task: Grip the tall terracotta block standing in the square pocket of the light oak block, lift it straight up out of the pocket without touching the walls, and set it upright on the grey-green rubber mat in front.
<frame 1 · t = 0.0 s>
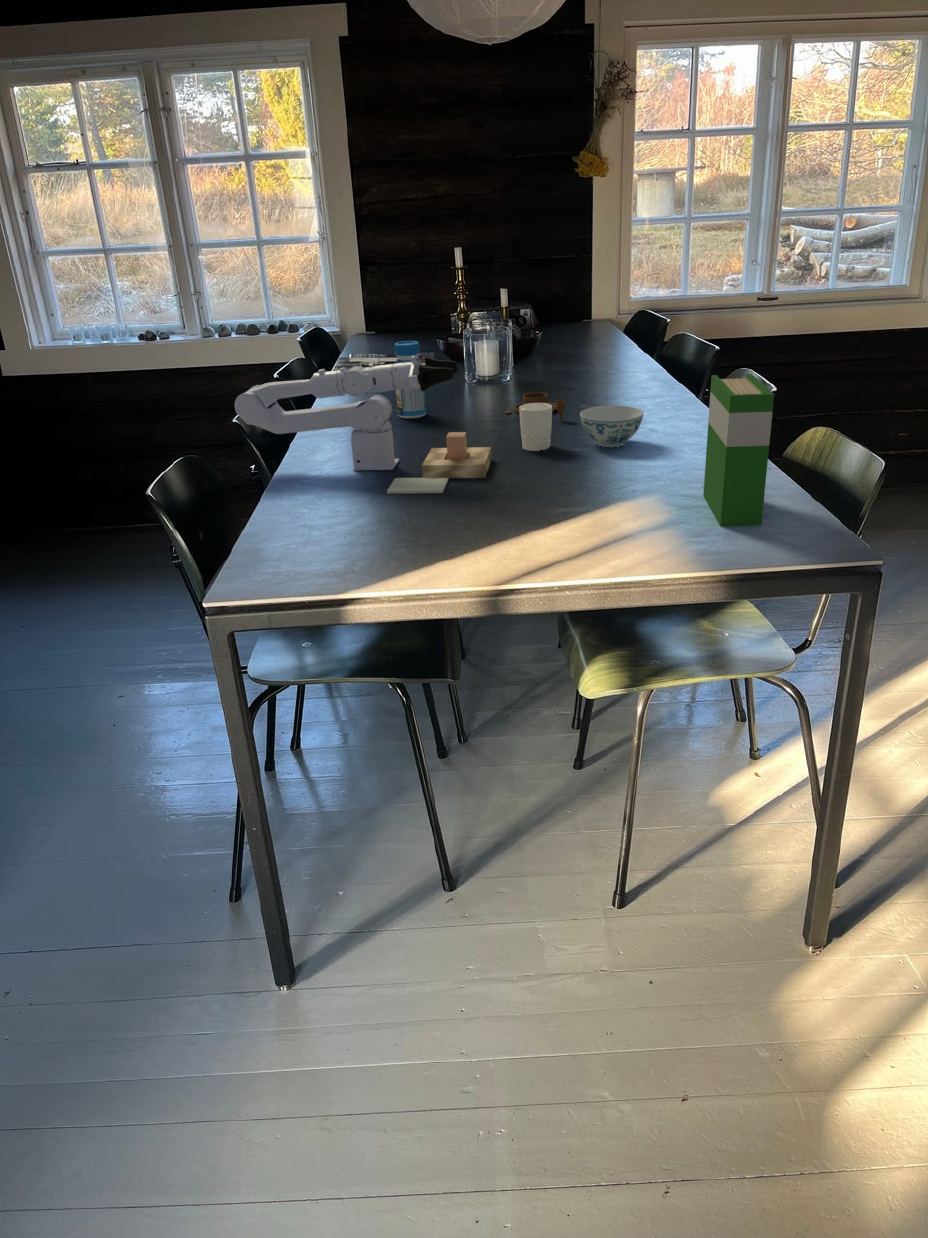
hand: (454, 369, 203), 22 cm above the table, tool horizontal, fingers open, 7 cm apart
terracotta block: (457, 451, 208), in the pocket block
white cup: (536, 448, 222), on the table
place setting: (536, 416, 253), on the table
mat: (418, 486, 199), on the table
pocket block: (458, 468, 209), on the table
hardback book: (730, 510, 176), on the table
beverage bottle: (412, 416, 258), on the table
chinaware: (611, 445, 222), on the table
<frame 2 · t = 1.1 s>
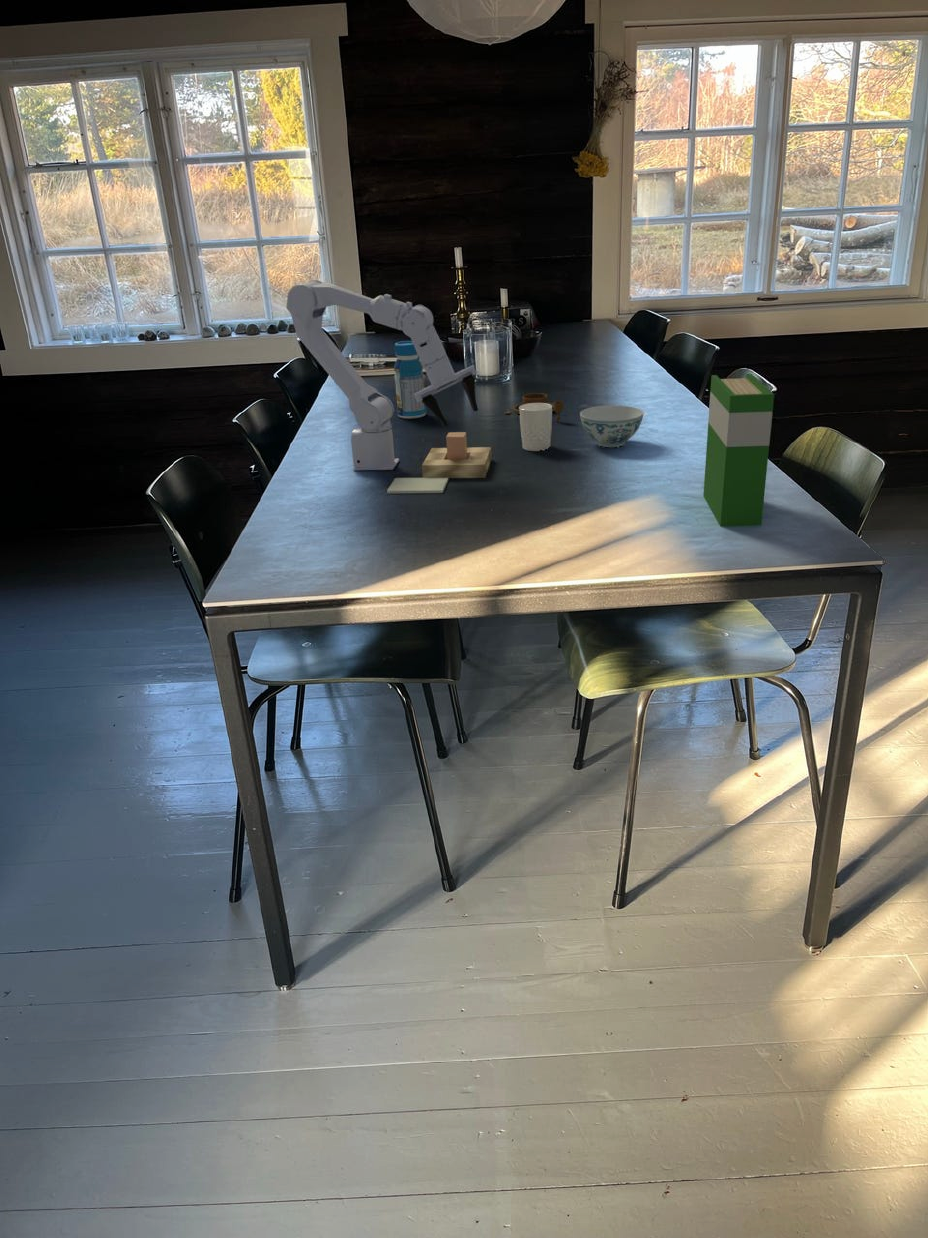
hand: (460, 418, 205), 12 cm above the table, tool tilted 20°, fingers open, 7 cm apart
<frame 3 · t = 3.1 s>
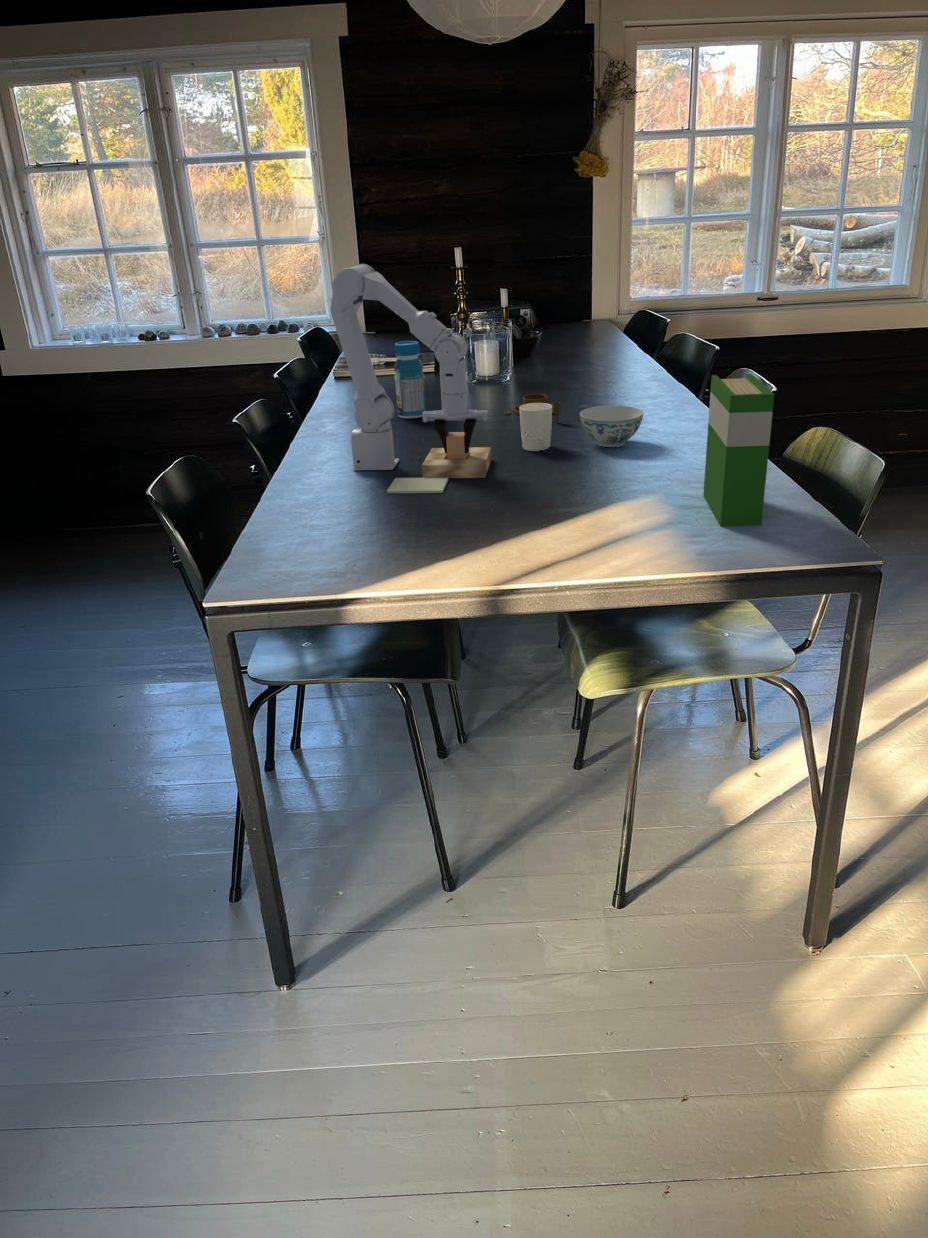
hand: (457, 452, 208), 4 cm above the table, tool pointing down, fingers closed on terracotta block, 4 cm apart
terracotta block: (457, 451, 208), in the pocket block, touching gripper
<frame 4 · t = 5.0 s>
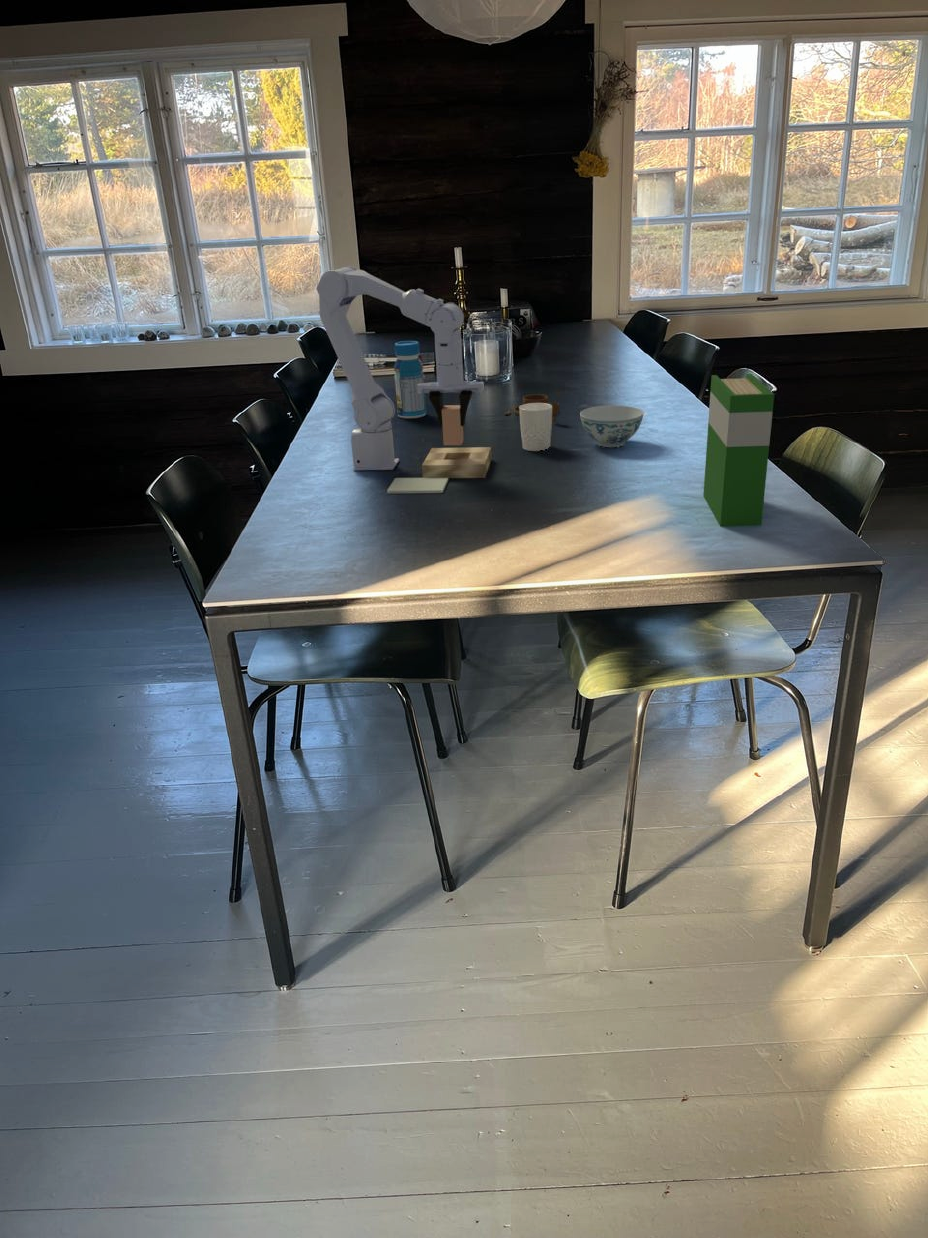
hand: (452, 424, 204), 10 cm above the table, tool pointing down, fingers closed on terracotta block, 4 cm apart
terracotta block: (452, 425, 204), point 10 cm above the table, touching gripper
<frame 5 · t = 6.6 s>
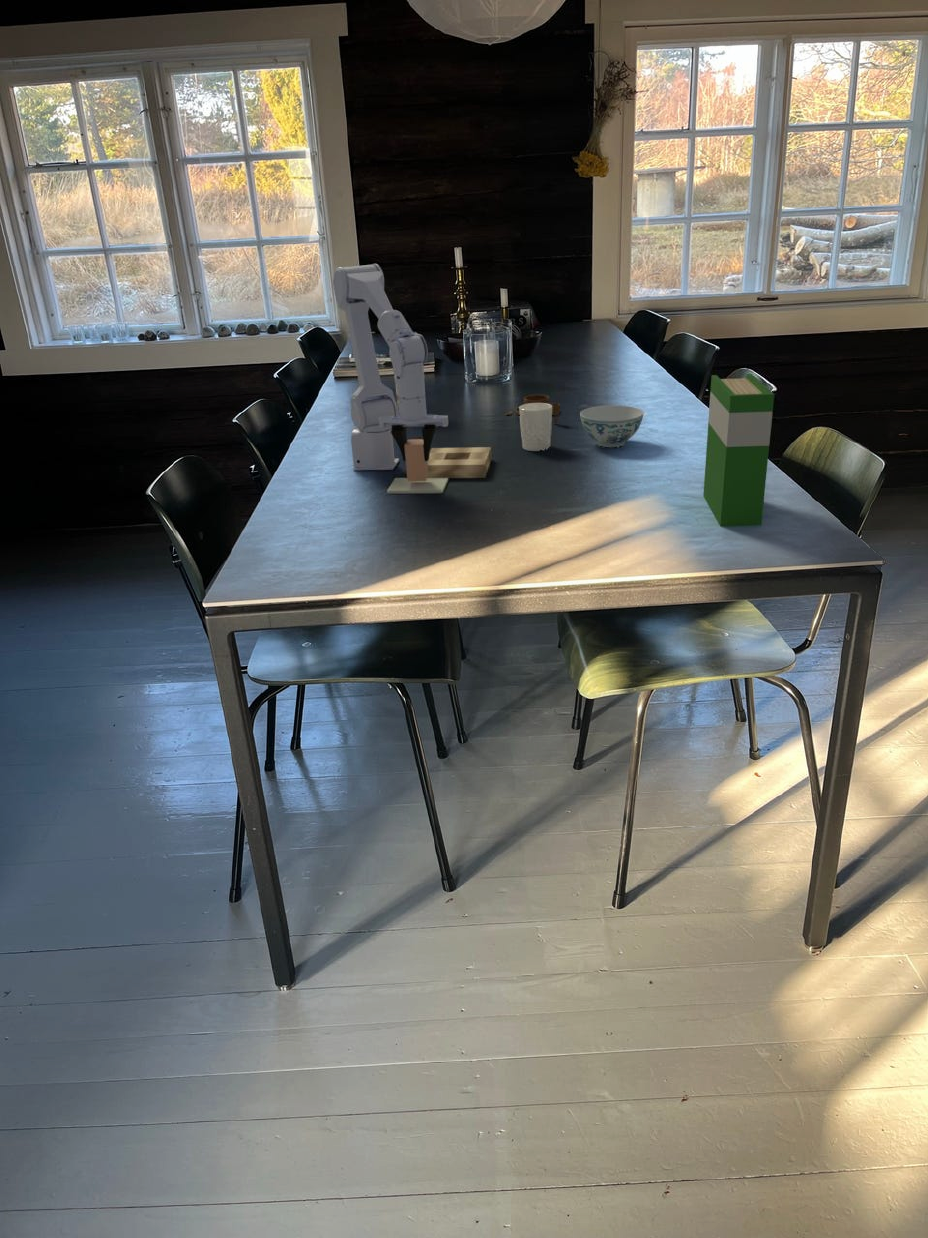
hand: (416, 459, 196), 6 cm above the table, tool pointing down, fingers closed on terracotta block, 4 cm apart
terracotta block: (416, 460, 197), point 6 cm above the table, touching gripper
when the fingers open (5 cm above the table, at t = 7.5 s): terracotta block stays where it is, resting on mat.
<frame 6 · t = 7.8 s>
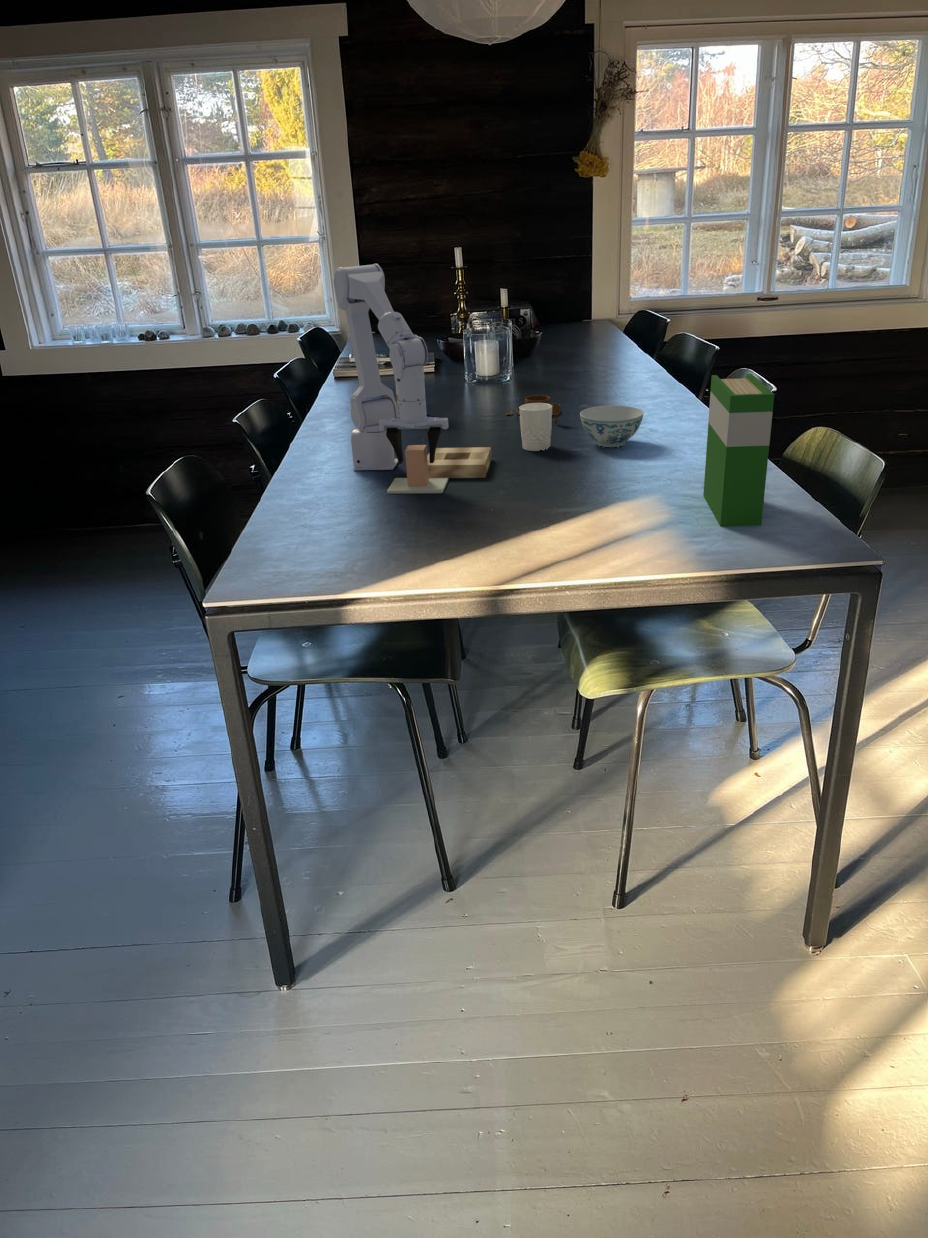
hand: (416, 462, 196), 6 cm above the table, tool pointing down, fingers open, 6 cm apart
terracotta block: (417, 465, 197), on the mat, point 5 cm above the table
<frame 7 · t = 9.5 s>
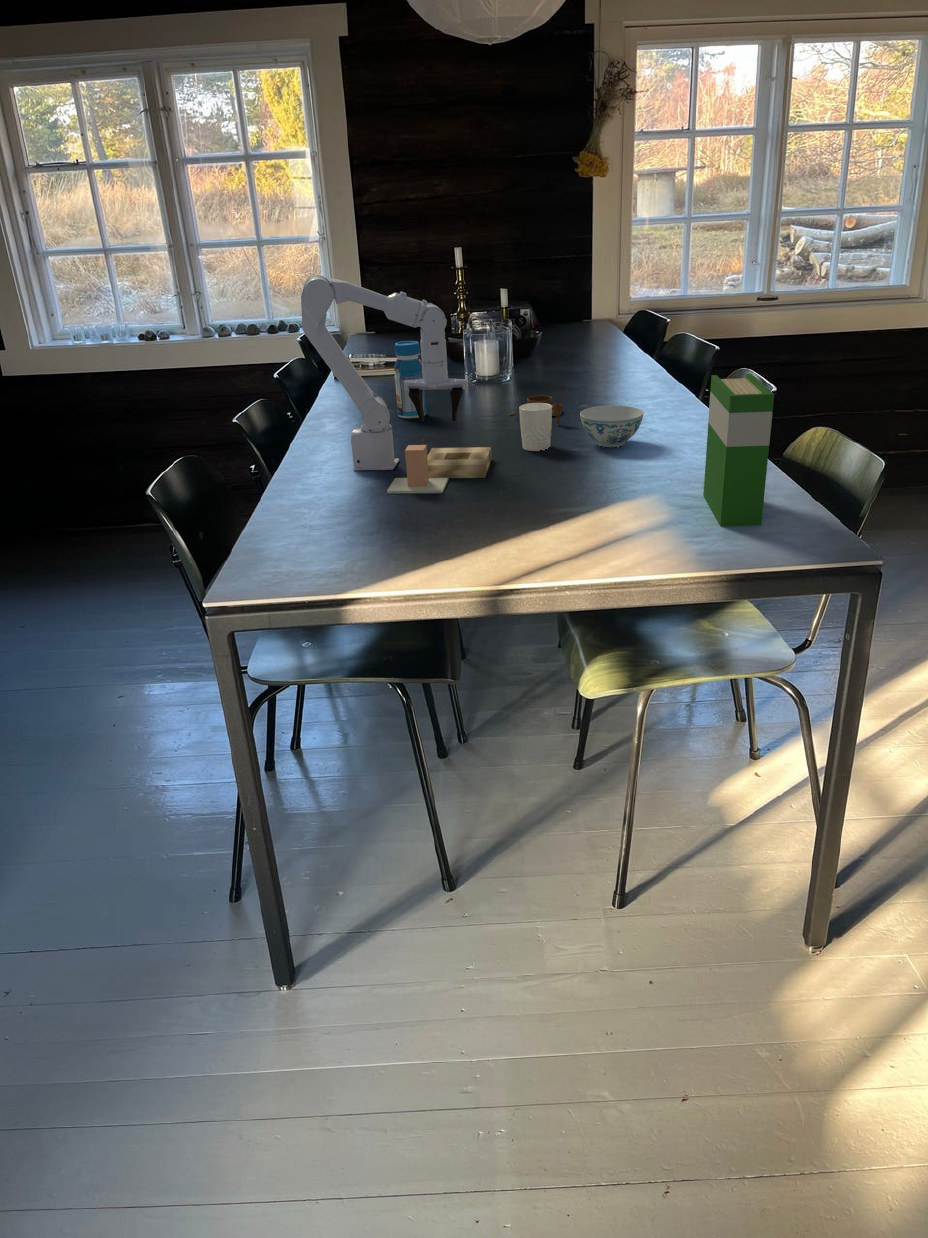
hand: (438, 420, 212), 9 cm above the table, tool pointing down, fingers open, 7 cm apart
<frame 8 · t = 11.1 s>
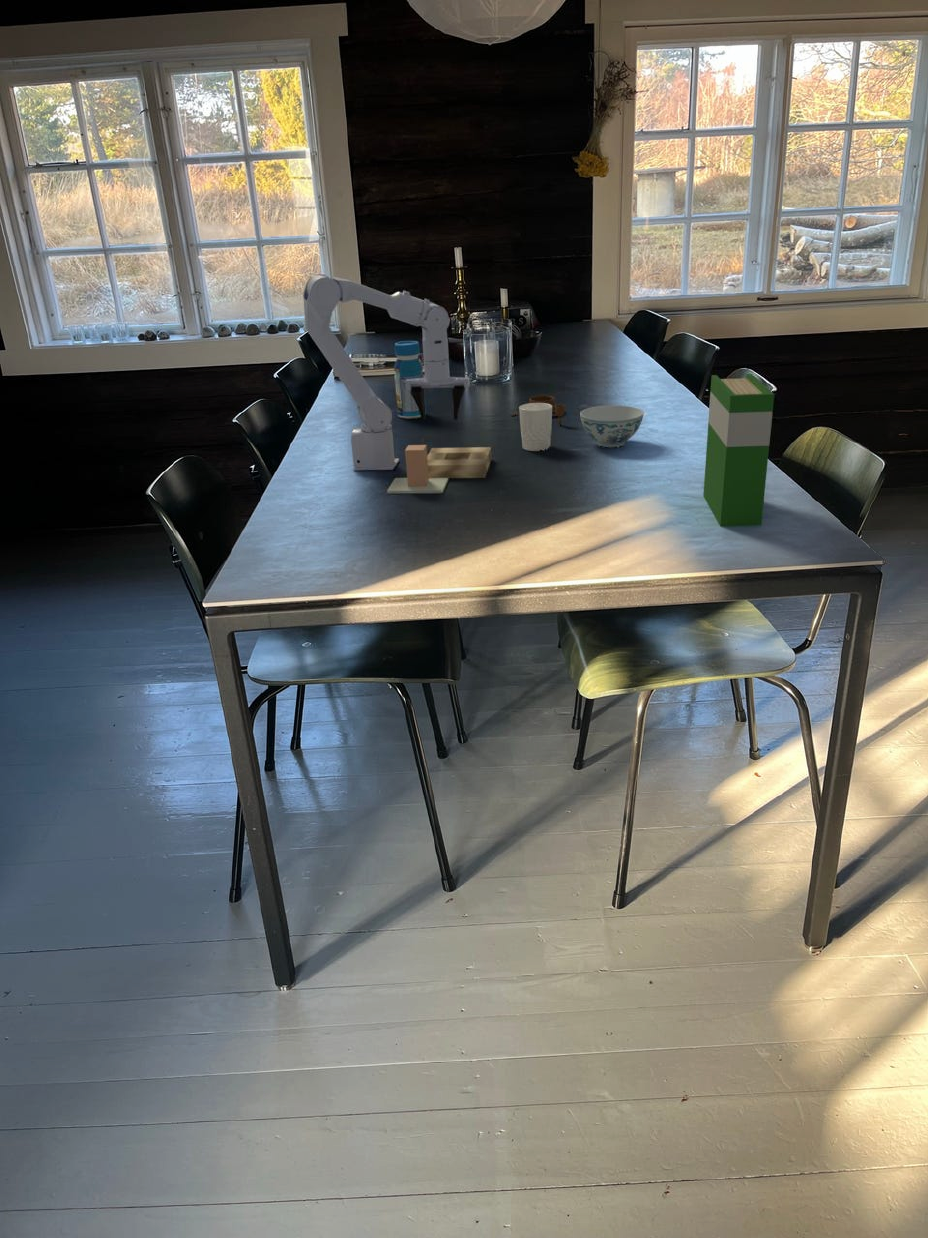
hand: (439, 418, 214), 9 cm above the table, tool pointing down, fingers open, 7 cm apart
at the end: terracotta block inside the target area on the mat (0.3 cm from its centre), point 4.6 cm above the mat's base; terracotta block tilted 0°; terracotta block touching mat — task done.
